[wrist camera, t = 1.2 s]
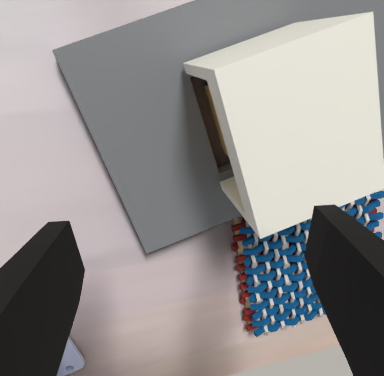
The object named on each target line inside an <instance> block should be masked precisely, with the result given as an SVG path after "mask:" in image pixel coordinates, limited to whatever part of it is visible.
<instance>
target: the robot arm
mask: <svg viewBox="0 0 384 376" xmlns="http://www.w3.org/2000/svg"><path fill="white" fill-rule="evenodd" d="M304 256H305V260H306V263H307V267H308V270H309V274H310V277H311V280H312V283H313V286H314V288H315V291H316V293H317V295H318V297H319V300H320V302H321V304H322V306H323V309H324V311H325V313H326V315H327V317H328V320H329V322H330V324H331V326H332V328H333V330H334V333H335V335H336V337H337V339H338V341H339V344H340V346H341V348H342V350H343V352H344V354H345V357H346V359H347V361H348V364H349V366H350V369H351V371H352V373H353V376H384V240H382V239H381V238H380V237H378V236H377V235H376V234H374V233H373V232H372V231H370V230H369V229H368V228H366V227H365V226H364V225H362V224H361V223H360V222H358V221H357V220H356V219H354V218H353V217H352V216H350V215H349V214H347V213H346V212H345V211H343V210H342V209H341V208H339V207H338V206H336V205H335V204H334V205H318V206H314V209H313V214H312V219H311V224H310V229H309V234H308V239H307V245H306V250H305V255H304ZM84 272H85V269H84V266H83V262H82V259H81V256H80V253H79V250H78V247H77V244H76V240H75V237H74V234H73V231H72V228H71V225H70V222H69V221H58V222H48V223H47V224H46V225H45V226H44V227H43V228H41V229H40V230H39V231H38V232H37V233H36V234H35V235H34V236H33V237H32V238H31V239H30V240H29V241H28V242H27V243H26V244H25V245H24V246H23V247H22V248H21V249H20V250H19V251H18V252H17V253H16V254H15V255H14V256H13V257H12V258H11V259H10V260H8V261H7V262H6V263H5V264H4V265H3V266H2V267H1V268H0V376H66V375H68V374H71V373H73V372H75V371H78V370H80V369H82V368H83V367H84V365H85V359H84V357H83V356H82V354H81V353H80V351H79V350H78V348H77V347H76V345H75V344H74V343H73V341H72V340H71V338H70V337H69V335H70V331H71V328H72V325H73V321H74V318H75V315H76V312H77V308H78V305H79V301H80V296H81V290H82V284H83V278H84Z"/></svg>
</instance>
